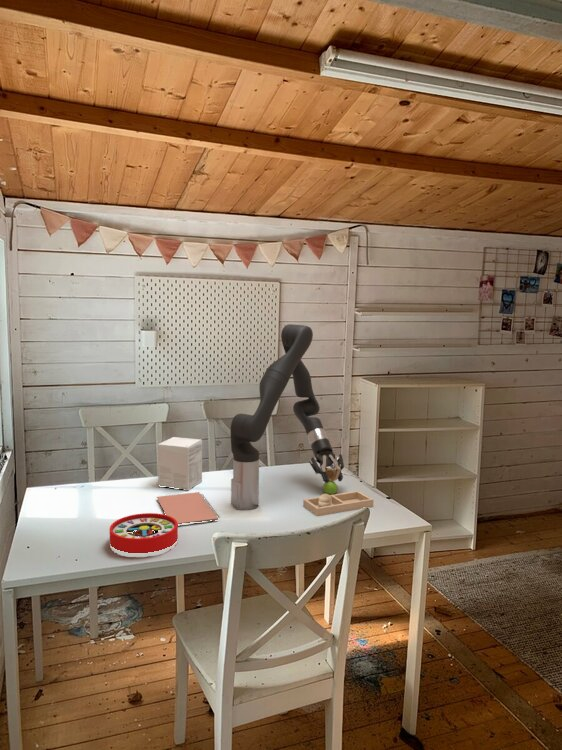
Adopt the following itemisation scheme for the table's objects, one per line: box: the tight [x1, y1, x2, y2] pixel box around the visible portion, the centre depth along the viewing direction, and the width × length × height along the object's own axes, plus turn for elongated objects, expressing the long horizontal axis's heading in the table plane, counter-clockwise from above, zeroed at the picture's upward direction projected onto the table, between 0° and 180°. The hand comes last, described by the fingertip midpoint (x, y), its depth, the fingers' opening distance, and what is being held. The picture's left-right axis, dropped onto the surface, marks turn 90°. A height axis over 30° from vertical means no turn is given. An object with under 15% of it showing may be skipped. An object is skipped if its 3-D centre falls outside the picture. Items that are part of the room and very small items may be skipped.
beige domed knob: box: [318, 493, 332, 507], centre depth 200 cm, size 5×5×5 cm
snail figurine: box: [322, 464, 342, 495], centre depth 216 cm, size 5×6×12 cm
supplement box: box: [157, 436, 203, 491], centre depth 226 cm, size 13×13×18 cm
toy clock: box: [108, 512, 179, 553], centre depth 172 cm, size 20×6×20 cm
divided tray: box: [302, 490, 374, 517], centre depth 203 cm, size 23×10×4 cm, turn 116°
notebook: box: [156, 491, 220, 524], centre depth 199 cm, size 27×17×2 cm, turn 22°
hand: (334, 481), depth 214 cm, fingers closed on snail figurine, 5 cm apart
